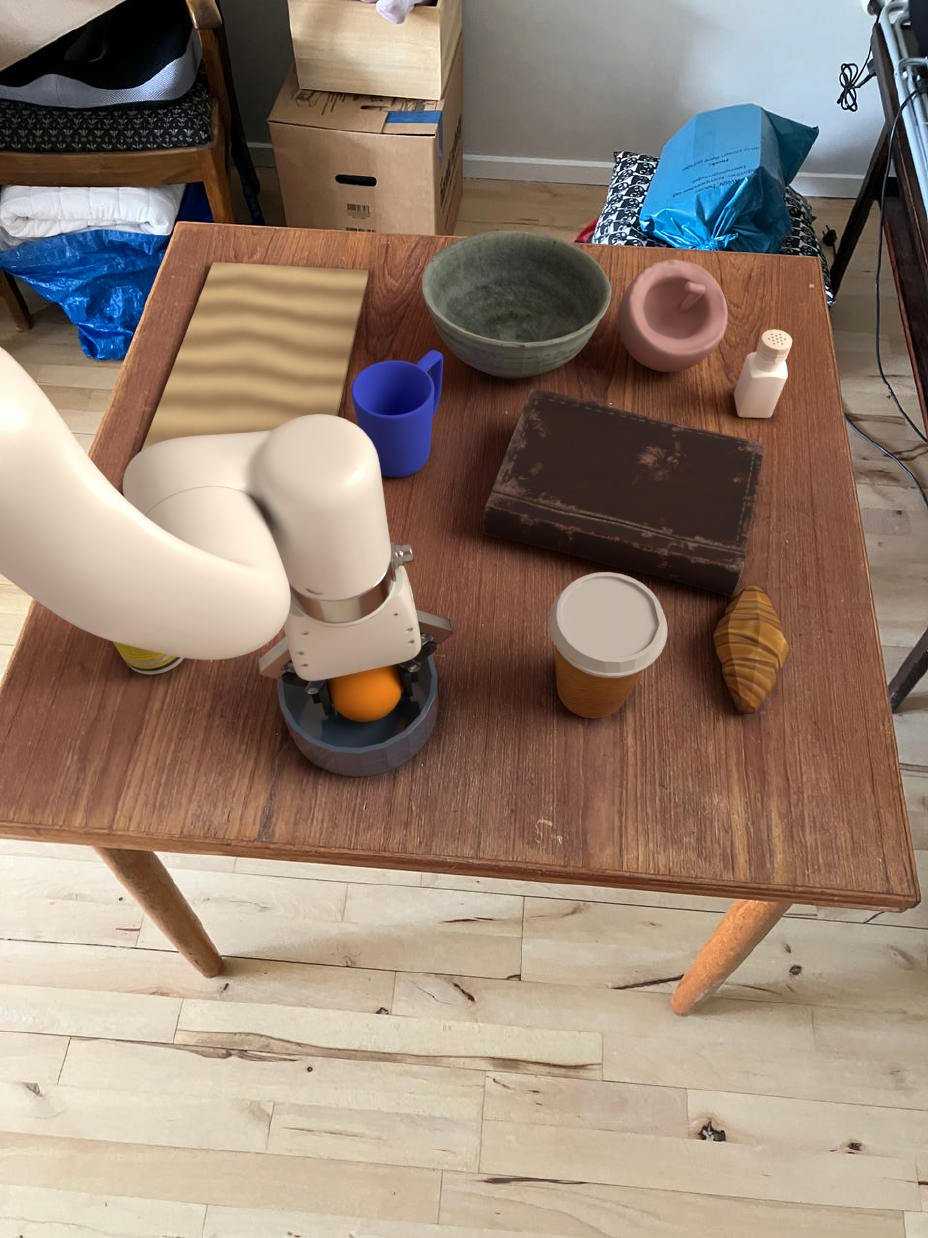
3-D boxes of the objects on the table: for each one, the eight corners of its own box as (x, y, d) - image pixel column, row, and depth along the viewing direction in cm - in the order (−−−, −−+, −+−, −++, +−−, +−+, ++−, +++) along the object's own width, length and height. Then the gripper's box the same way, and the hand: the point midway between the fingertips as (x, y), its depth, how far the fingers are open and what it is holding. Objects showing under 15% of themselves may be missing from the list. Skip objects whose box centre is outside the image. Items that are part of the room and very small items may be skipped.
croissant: (711, 589, 86) (724, 558, 82) (782, 601, 85) (799, 571, 81) (703, 711, 79) (717, 684, 74) (780, 725, 78) (799, 699, 74)
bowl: (407, 403, 100) (402, 331, 91) (442, 288, 111) (441, 214, 102) (590, 427, 98) (602, 355, 89) (607, 307, 109) (619, 234, 100)
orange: (333, 740, 76) (334, 704, 71) (322, 678, 79) (322, 638, 74) (406, 729, 77) (412, 692, 72) (392, 668, 81) (396, 628, 75)
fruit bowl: (298, 792, 74) (289, 769, 70) (278, 659, 81) (268, 630, 77) (453, 757, 76) (452, 732, 72) (420, 630, 83) (418, 600, 79)
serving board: (314, 518, 90) (313, 513, 90) (124, 505, 91) (121, 500, 91) (368, 275, 112) (368, 269, 111) (214, 266, 113) (212, 261, 112)
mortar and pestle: (641, 405, 100) (660, 321, 90) (593, 339, 106) (606, 254, 96) (732, 378, 102) (760, 293, 92) (681, 315, 108) (702, 230, 98)
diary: (729, 604, 85) (743, 574, 81) (481, 542, 89) (482, 509, 85) (754, 467, 94) (768, 433, 90) (530, 416, 98) (533, 381, 94)
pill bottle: (198, 664, 81) (164, 596, 72) (130, 686, 80) (87, 619, 70) (184, 611, 84) (150, 540, 75) (119, 632, 83) (76, 561, 74)
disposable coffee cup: (623, 752, 76) (648, 685, 66) (522, 710, 79) (531, 640, 68) (657, 665, 81) (685, 591, 71) (561, 629, 83) (575, 551, 73)
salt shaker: (766, 395, 101) (793, 326, 93) (772, 420, 98) (799, 352, 90) (731, 394, 101) (754, 325, 93) (736, 419, 98) (760, 351, 90)
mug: (470, 429, 97) (471, 357, 89) (407, 498, 92) (402, 429, 83) (410, 400, 100) (405, 328, 91) (345, 466, 94) (333, 395, 86)
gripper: (447, 507, 65) (453, 635, 80) (210, 554, 62) (262, 676, 78) (472, 589, 61) (473, 707, 76) (220, 642, 59) (272, 752, 74)
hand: (366, 690), depth 77 cm, fingers closed on orange, 6 cm apart
